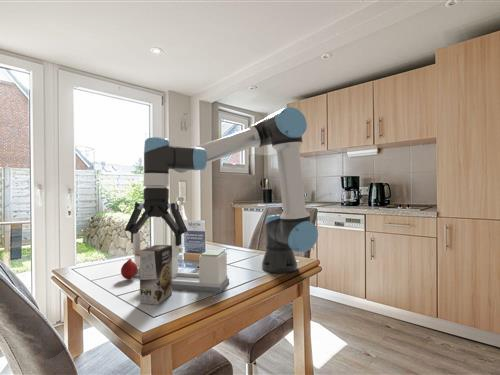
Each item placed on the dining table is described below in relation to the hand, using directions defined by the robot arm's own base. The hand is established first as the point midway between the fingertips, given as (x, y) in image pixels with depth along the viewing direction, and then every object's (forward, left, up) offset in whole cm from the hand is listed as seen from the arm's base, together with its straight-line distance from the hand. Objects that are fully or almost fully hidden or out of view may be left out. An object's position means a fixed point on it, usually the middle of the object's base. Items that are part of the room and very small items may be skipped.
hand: (155, 254), depth 88 cm
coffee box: (0, 0, -14) cm, 14 cm away
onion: (+20, -14, -14) cm, 28 cm away
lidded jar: (+22, -29, -14) cm, 39 cm away
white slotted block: (-4, -14, -14) cm, 20 cm away
